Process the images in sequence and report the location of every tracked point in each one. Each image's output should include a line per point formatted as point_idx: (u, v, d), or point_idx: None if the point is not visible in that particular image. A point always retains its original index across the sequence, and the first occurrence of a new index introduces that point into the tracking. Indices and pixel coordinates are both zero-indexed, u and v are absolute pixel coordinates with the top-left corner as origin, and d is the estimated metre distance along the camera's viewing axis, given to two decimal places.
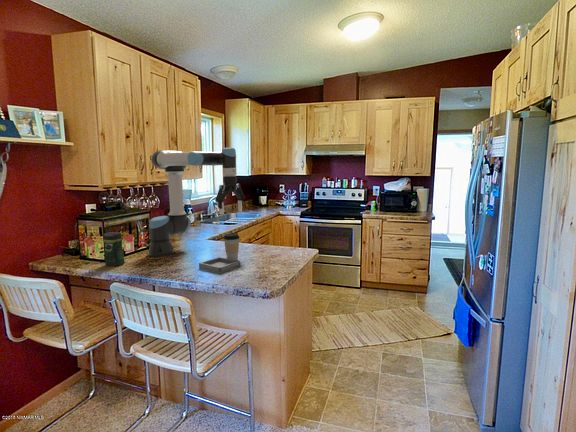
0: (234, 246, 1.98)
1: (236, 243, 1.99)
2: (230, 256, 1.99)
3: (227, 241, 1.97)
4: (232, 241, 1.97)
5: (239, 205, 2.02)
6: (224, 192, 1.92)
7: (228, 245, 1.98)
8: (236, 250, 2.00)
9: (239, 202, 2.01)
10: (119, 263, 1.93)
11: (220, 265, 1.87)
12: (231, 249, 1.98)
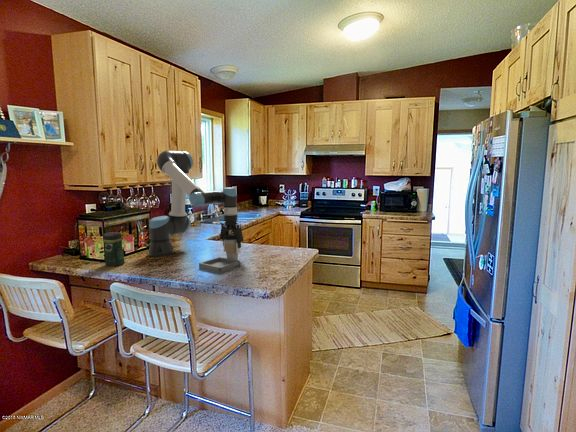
0: (234, 246, 1.98)
1: None
2: (230, 256, 1.99)
3: (227, 241, 1.97)
4: (232, 241, 1.97)
5: None
6: None
7: (228, 245, 1.98)
8: None
9: None
10: (119, 263, 1.93)
11: (220, 265, 1.87)
12: (231, 249, 1.98)
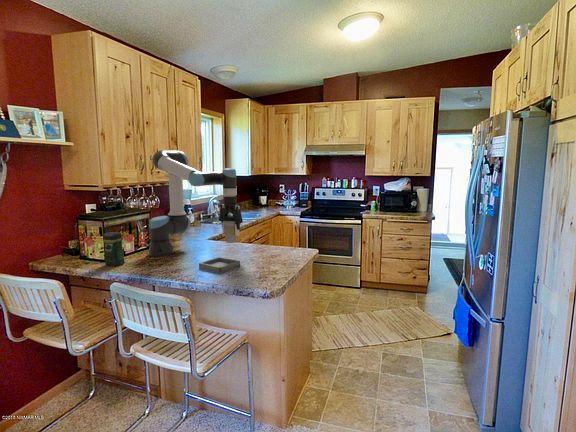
0: (233, 228, 1.97)
1: None
2: (229, 237, 1.98)
3: (226, 222, 1.96)
4: (231, 222, 1.96)
5: None
6: None
7: (227, 227, 1.96)
8: None
9: None
10: (119, 263, 1.93)
11: (220, 265, 1.87)
12: (230, 231, 1.96)
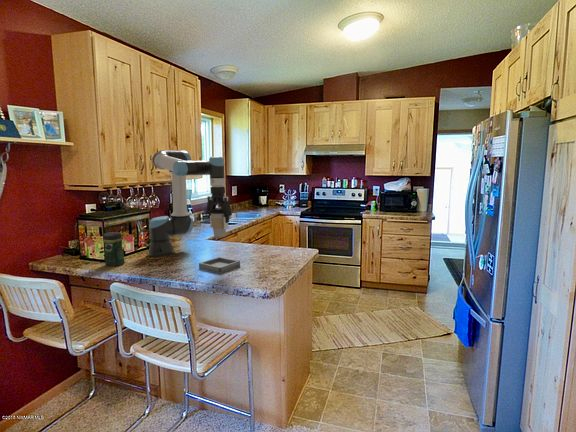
0: (222, 221, 1.82)
1: None
2: (218, 231, 1.83)
3: (214, 215, 1.81)
4: (219, 215, 1.81)
5: None
6: None
7: (215, 220, 1.81)
8: None
9: None
10: (119, 263, 1.93)
11: (220, 265, 1.87)
12: (218, 224, 1.81)
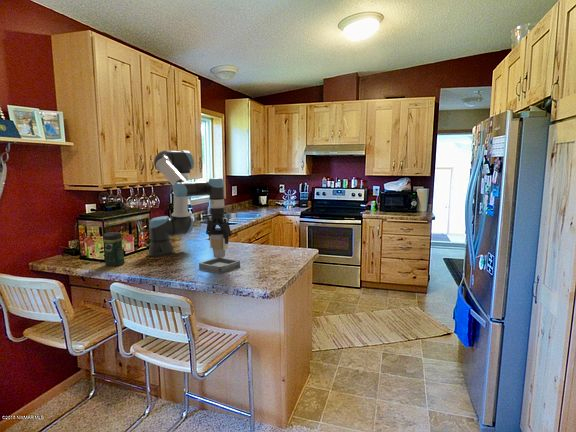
0: (221, 242, 1.82)
1: None
2: (217, 252, 1.83)
3: (213, 236, 1.81)
4: (219, 236, 1.81)
5: None
6: None
7: (214, 241, 1.82)
8: None
9: None
10: (119, 263, 1.93)
11: (220, 265, 1.87)
12: (218, 245, 1.82)
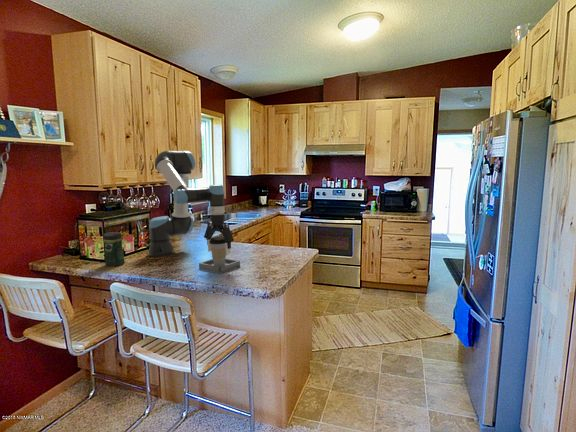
0: (221, 251, 1.83)
1: (223, 248, 1.84)
2: (217, 261, 1.84)
3: (213, 245, 1.82)
4: (219, 245, 1.82)
5: None
6: None
7: (214, 250, 1.83)
8: (223, 255, 1.85)
9: None
10: (119, 263, 1.93)
11: None
12: (218, 254, 1.83)
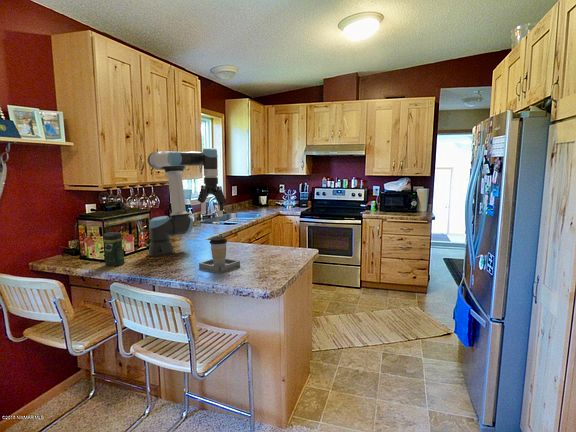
0: (221, 251, 1.83)
1: (223, 248, 1.84)
2: (217, 261, 1.84)
3: (213, 245, 1.82)
4: (219, 245, 1.82)
5: None
6: None
7: (214, 250, 1.83)
8: (223, 255, 1.85)
9: None
10: (119, 263, 1.93)
11: None
12: (218, 254, 1.83)
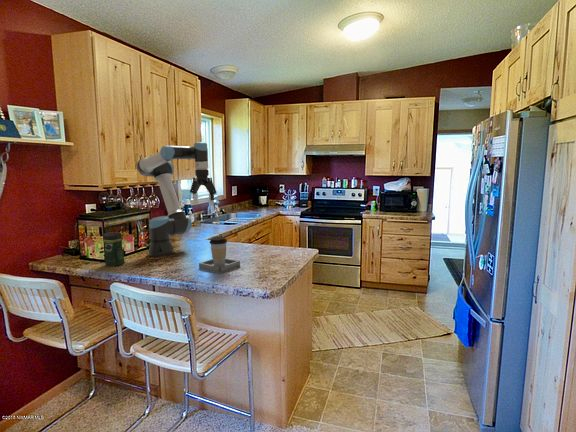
0: (221, 251, 1.83)
1: (223, 248, 1.84)
2: (217, 261, 1.84)
3: (213, 245, 1.82)
4: (219, 245, 1.82)
5: None
6: None
7: (214, 250, 1.83)
8: (223, 255, 1.85)
9: None
10: (119, 263, 1.93)
11: None
12: (218, 254, 1.83)
